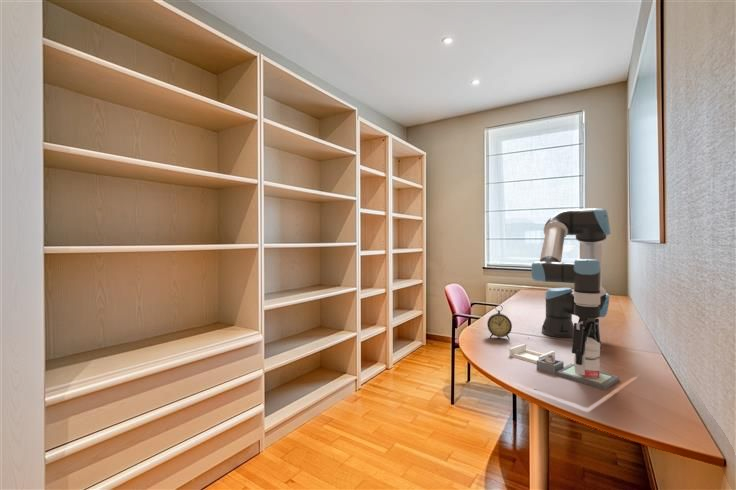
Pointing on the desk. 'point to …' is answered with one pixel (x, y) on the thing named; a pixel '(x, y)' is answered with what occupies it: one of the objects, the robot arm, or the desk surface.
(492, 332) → the alarm clock
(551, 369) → the cup
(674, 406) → the desk surface
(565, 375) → the base
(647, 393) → the desk surface
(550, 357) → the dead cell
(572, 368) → the pale green panel
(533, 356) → the trough
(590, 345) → the ink box
